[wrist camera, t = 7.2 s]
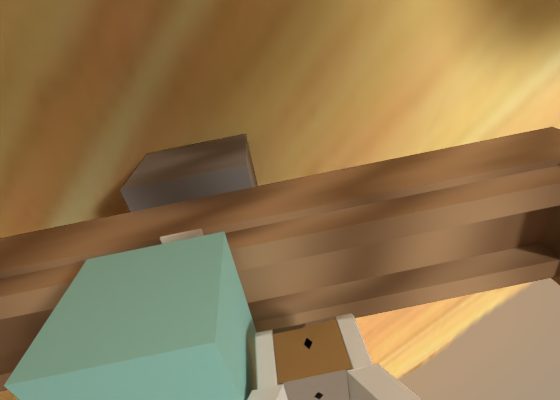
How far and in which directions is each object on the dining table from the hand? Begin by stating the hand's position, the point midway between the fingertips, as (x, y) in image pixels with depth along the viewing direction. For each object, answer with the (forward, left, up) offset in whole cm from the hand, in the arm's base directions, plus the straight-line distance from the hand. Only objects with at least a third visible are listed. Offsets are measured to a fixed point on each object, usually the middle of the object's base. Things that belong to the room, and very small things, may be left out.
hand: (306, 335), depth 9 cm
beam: (+3, 0, -9) cm, 10 cm away
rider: (+4, 0, -3) cm, 5 cm away
